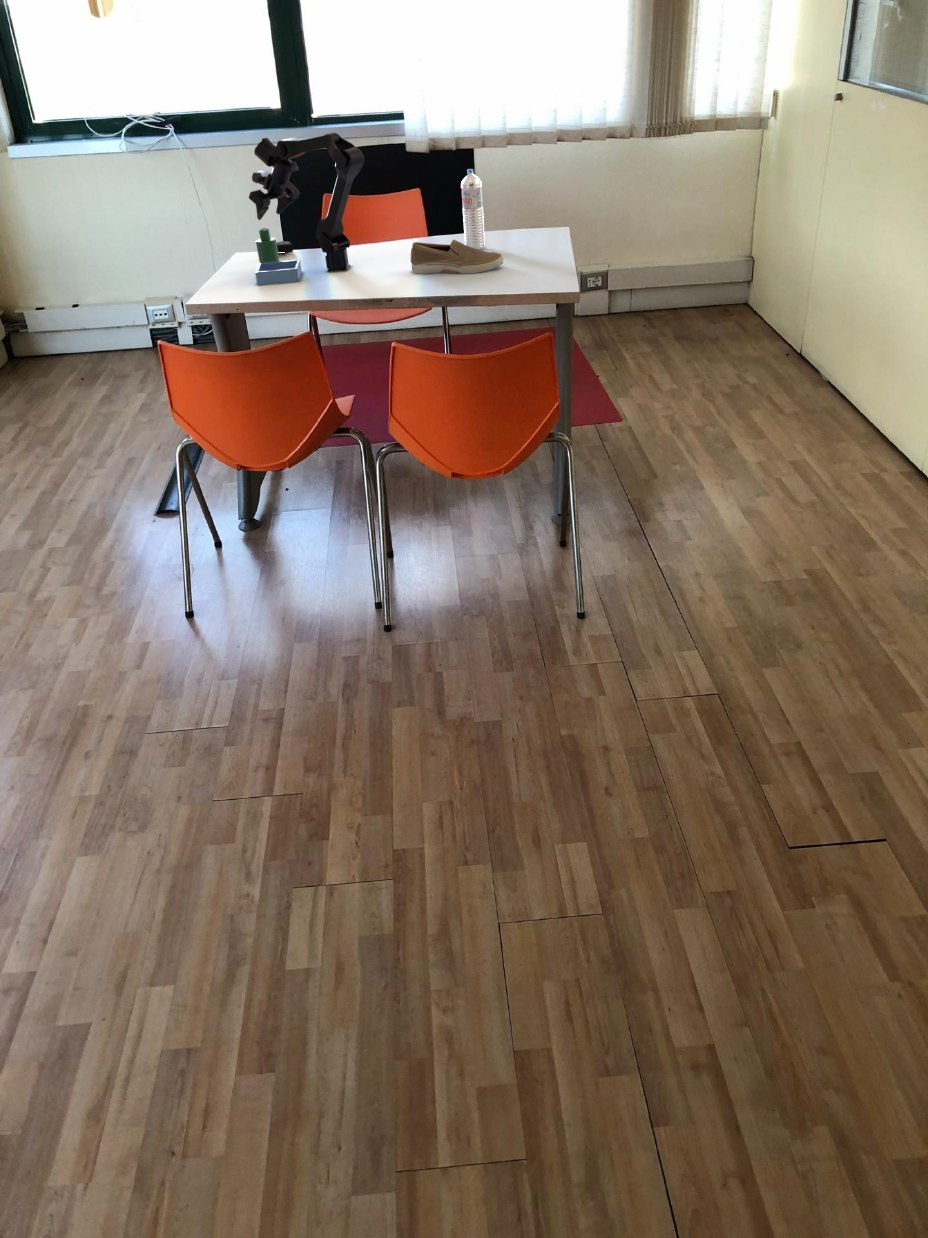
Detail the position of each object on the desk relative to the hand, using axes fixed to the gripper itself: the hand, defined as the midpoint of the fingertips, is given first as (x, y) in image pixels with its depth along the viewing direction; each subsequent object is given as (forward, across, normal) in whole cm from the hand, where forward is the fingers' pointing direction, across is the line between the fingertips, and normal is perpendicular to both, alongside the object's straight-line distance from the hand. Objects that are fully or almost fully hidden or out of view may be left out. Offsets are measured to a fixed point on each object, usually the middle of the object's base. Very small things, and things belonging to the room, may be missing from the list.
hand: (268, 216), depth 324 cm
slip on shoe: (-26, -11, +65) cm, 71 cm away
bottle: (+10, +7, +12) cm, 17 cm away
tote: (+3, +16, +22) cm, 28 cm away
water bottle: (-20, -37, +57) cm, 71 cm away
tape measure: (+17, -12, +3) cm, 21 cm away
